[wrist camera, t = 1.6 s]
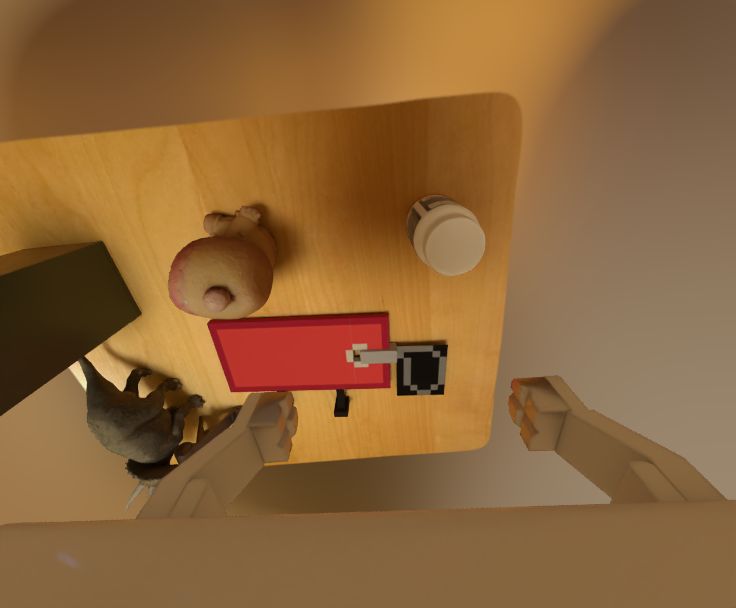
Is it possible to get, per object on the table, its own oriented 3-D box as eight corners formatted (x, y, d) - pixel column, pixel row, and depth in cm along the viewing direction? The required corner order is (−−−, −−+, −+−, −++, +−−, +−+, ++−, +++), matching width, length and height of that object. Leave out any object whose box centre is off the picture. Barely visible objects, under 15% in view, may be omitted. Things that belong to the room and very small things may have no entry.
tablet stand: (258, 444, 48) (237, 497, 41) (211, 443, 49) (182, 496, 41) (247, 405, 44) (222, 456, 37) (196, 405, 44) (161, 456, 37)
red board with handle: (441, 399, 43) (448, 309, 36) (445, 414, 40) (454, 320, 34) (241, 404, 44) (212, 318, 38) (233, 419, 42) (201, 329, 35)
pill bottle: (434, 256, 33) (457, 295, 24) (394, 227, 32) (403, 257, 23) (470, 214, 31) (509, 240, 22) (428, 181, 29) (453, 194, 21)
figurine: (199, 197, 30) (134, 237, 18) (274, 200, 32) (265, 239, 19) (214, 284, 35) (172, 366, 22) (280, 283, 37) (275, 358, 24)
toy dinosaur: (93, 334, 39) (-3, 399, 29) (149, 321, 38) (70, 383, 28) (182, 442, 48) (133, 517, 39) (228, 434, 47) (191, 509, 37)
